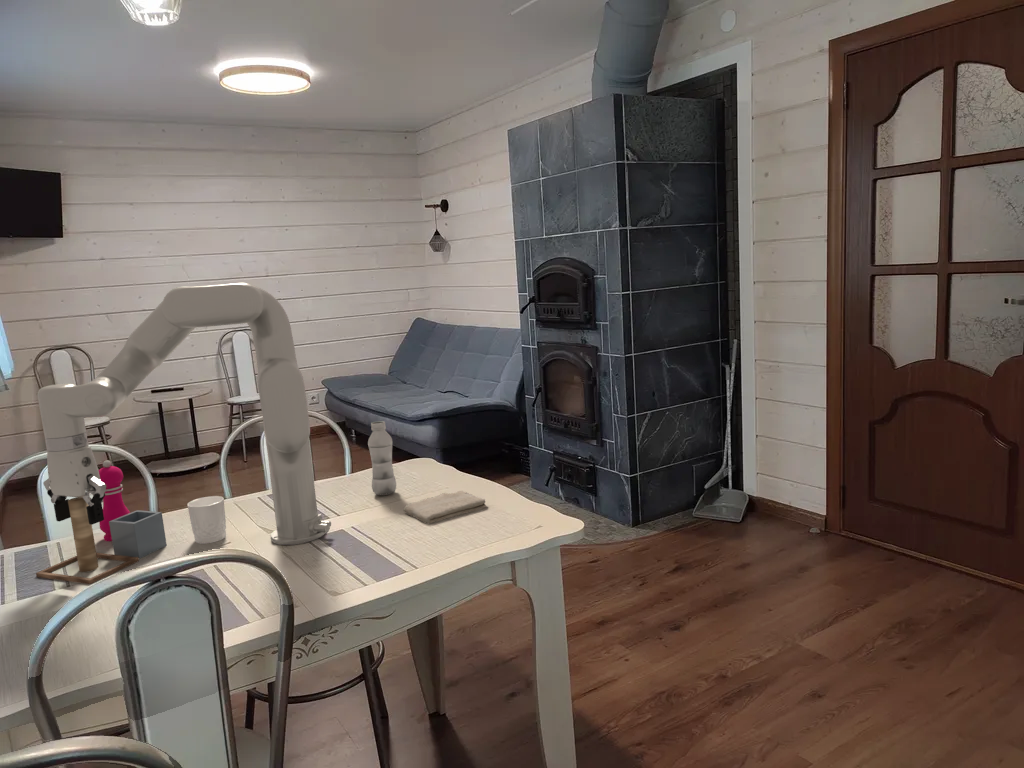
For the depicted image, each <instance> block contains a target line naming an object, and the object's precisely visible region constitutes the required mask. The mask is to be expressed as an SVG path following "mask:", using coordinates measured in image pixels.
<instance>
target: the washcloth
mask: <svg viewBox="0 0 1024 768" xmlns="http://www.w3.org/2000/svg"><path fill="white" fill-rule="evenodd" d="M485 503H486V499H485V498H483V497H478V496H475V495H473V494H472V493H470V492H467V491H464V490H459V491H455V492H451V493H447V492H444V493H440V494H439V495H435V496H432V497H427V498H424V499H421V500H420V499H419V500H418V501H413V502H410V503H408V504H407V505H406V506H404V508H403V511H404V513H406V514H407V515H408V516H411V517H412V518H413V517H414V519H415V518H416V519H417V520H419V521H421V522H423V523H424V524H433V523H436V522H440V521H443V520H448V519H451V518H454V517H457V516H460V515H464V514H467V513H471V512H475V511H477V510H478V511H479V510H481V509H482V510H483V509H485V508H487V505H486V504H485Z"/></svg>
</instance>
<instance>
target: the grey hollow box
mask: <svg viewBox="0 0 1024 768" xmlns="http://www.w3.org/2000/svg"><path fill="white" fill-rule="evenodd" d="M109 525H110V531H111V537H112V541H111V542H112V548H113V553H114V554H113V555H122V556H130V557H138V558H139V559H142V558H143V557H146V556H147V555H149V554H152V553H154V552H156V551H158V550H161V549H162V548H165V547H167V546H168V545H167V538H166V532H165V524H164V518H163V512H162V511H154V510H153V511H150V510H149V511H148V510H141V509H139V510H134V511H132V512H130V513H129V514H126V515H124V516H121V517H119V518H116V519H114V520H111V521H109Z"/></svg>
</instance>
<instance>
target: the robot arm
mask: <svg viewBox="0 0 1024 768" xmlns="http://www.w3.org/2000/svg"><path fill="white" fill-rule="evenodd" d="M241 324H242V325H243V324H247V325H248V326H249V329H250V331H251V335H252V339H253V347H254V352H255V358H256V367H257V373H256V374H257V377H256V380H257V383H256V384H257V388H258V389H257V390H258V395H259V402H260V409H261V415H262V422H263V432H264V433H263V434H264V438H265V445H266V452H267V460H268V461H267V462H268V467H269V477H270V486H271V492H272V493H271V494H272V500H273V501H272V502H273V509H274V517H275V523H276V524H275V526H276V529H275V530H274V531H272V532H271V534H270V540H271V542H272V543H274V544H277V545H284V546H288V545H289V546H290V545H300V544H305V543H309V542H312V541H315V540H317V539H319V538H321V537H323V536H324V535H325V534H326V533H329V531H330V529H331V526H332V522H331V521H329V520H323V515H322V513H319V512H318V506H317V505H318V504H317V496H316V487H315V486H316V485H315V479H314V478H315V477H314V471H313V468H314V467H313V459H312V453H311V452H312V451H311V446H310V445H311V444H310V438H309V437H310V435H311V424H310V416H309V410H308V402H307V394H306V386H305V382H304V381H305V380H304V377H303V373H302V372H301V370H300V367H299V365H298V362H297V357H296V348H295V344H294V338H293V332H292V328H291V327H292V326H291V322H290V319H289V317H288V314H287V312H286V310H285V309H284V307H283V305H282V303H280V301H279V300H277V298H276V297H274V296H273V295H272V293H269V292H268V291H267V290H264V289H263V288H261V287H258V286H256V285H253V284H251V283H248V282H236V283H226V284H212V285H200V286H199V285H198V286H197V285H196V286H178V287H175V288H172V289H171V290H169V291H167V293H166V294H165V296H164V297H163V299H162V301H161V302H160V303H159V304H158V305H157V306H156V308H154V310H153V311H151V313H150V314H149V315H148V316H147V317H146V318H145V319H144V320H143V321H142V322H141V323H140V324H139V325H138V326H137V327H136V328H135V329H134V330H133V331H132V333H131V334H130V335H129V337H128V338H127V339H126V341H125V343H124V345H123V348H121V350H120V351H119V353H118V354H116V356H115V357H114V358H113V359H112V360H111V362H109V363H108V365H106V367H105V368H104V369H103V370H102V371H101V372H99V374H98V375H97V376H96V377H95V378H94V379H93V380H91V381H89V382H87V383H84V384H83V383H82V384H79V385H77V384H73V383H58V384H50V385H47V386H43V387H41V388H40V389H38V392H37V401H38V408H39V413H40V418H41V423H42V424H41V425H42V430H43V435H44V441H45V446H46V447H45V448H46V455H47V456H46V458H47V459H46V460H47V461H46V463H47V475H48V478H47V479H45V480H44V481H43V482H42V483H43V486H44V488H45V490H46V491H47V492H46V493H47V495H48V496H49V498H50V502H51V503H52V504H53V509H54V514H55V520H56V522H63V521H65V520H68V519H71V517H70V511H69V505H68V500H70V499H68V497H69V498H70V497H72V498H76V497H83V499H84V500H85V501H86V503H87V504H88V505H89V506H87V507H86V509H87V515H88V521H89V524H91V525H92V526H93V525H94V524H97V523H99V522H100V521H103V520H104V515H103V504H102V503H103V498H104V496H105V490H106V484H104V483H103V482H102V481H101V480H100V475H99V471H98V470H99V468H98V463H97V461H96V458H95V454H94V452H93V449H92V447H90V446H89V441H88V434H87V429H86V422H85V418H103V417H106V416H109V415H111V414H112V413H113V412H115V411H116V409H118V407H120V406H121V405H122V404H123V403H124V402H125V401H126V399H127V398H128V397H129V396H130V395H131V394H132V393H133V392H134V391H135V390H136V389H137V387H138V386H139V385H140V384H141V383H142V382H143V381H144V380H145V379H146V378H147V377H148V376H149V375H150V374H151V373H152V372H153V371H155V369H157V368H158V367H160V366H162V364H163V363H164V362H165V361H166V360H167V359H168V358H169V356H171V354H172V353H173V352H174V351H175V350H176V349H177V348H178V347H179V346H180V345H181V344H182V343H183V341H185V339H186V338H187V337H189V336H190V335H191V333H192V332H194V331H195V329H196V328H207V327H216V326H217V327H218V326H228V325H229V326H230V325H241ZM91 496H92V498H91Z"/></svg>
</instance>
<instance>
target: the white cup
mask: <svg viewBox="0 0 1024 768" xmlns="http://www.w3.org/2000/svg"><path fill="white" fill-rule="evenodd" d="M224 500H225V499H224V497H223V496H221V495H220V496H219V495H212V496H211V495H210V496H205V497H204V496H203V497H199V498H196V499H193V500H191V501H189V502H187V504H186V505H187V510H188V516H189V521H190V525H191V530H192V533H193V535H194V536H193V538H194V542H195V543H196V544H201V545H203V544H205V545H206V544H211V543H214V542H215V543H216V542H219V541H221V540H223V539H225V538H226V537H227V530H226V529H227V525H226V524H227V522H226V521H227V519H226V510H225V501H224Z"/></svg>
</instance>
